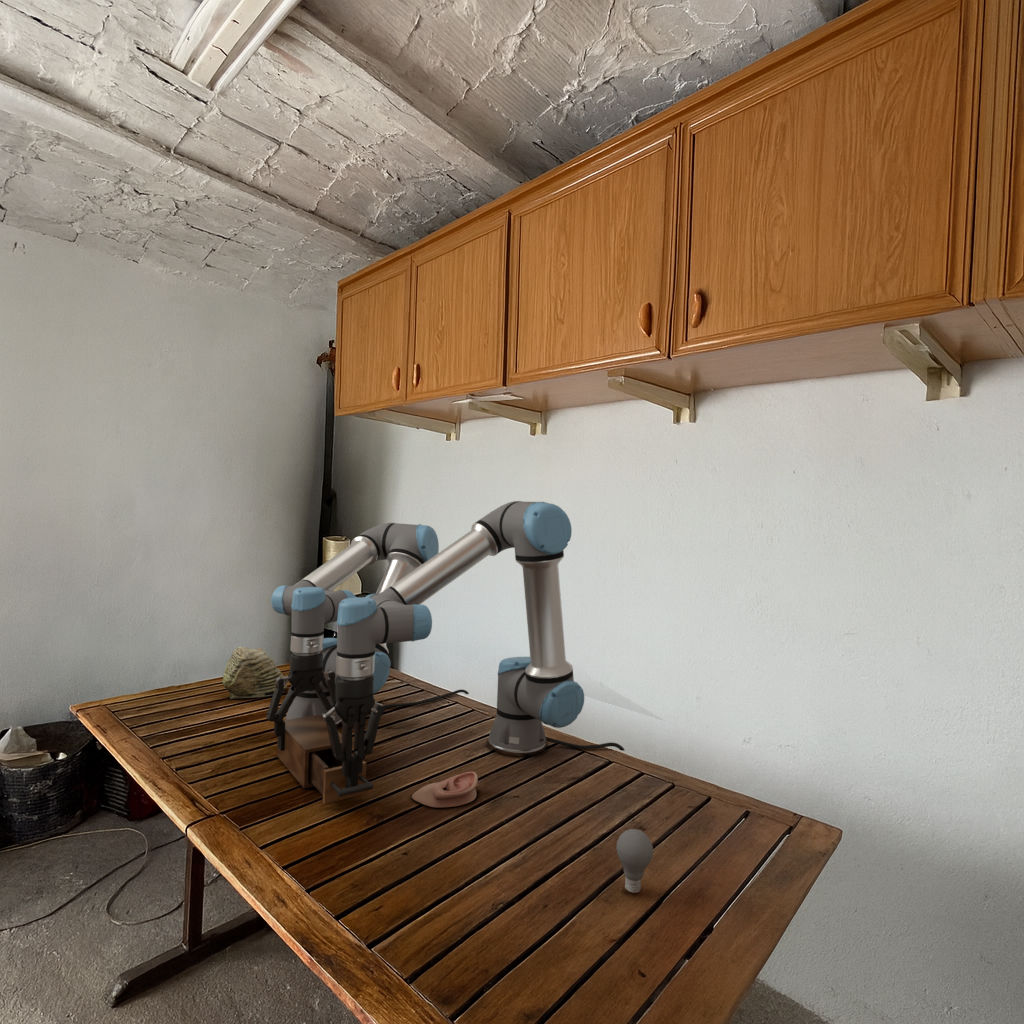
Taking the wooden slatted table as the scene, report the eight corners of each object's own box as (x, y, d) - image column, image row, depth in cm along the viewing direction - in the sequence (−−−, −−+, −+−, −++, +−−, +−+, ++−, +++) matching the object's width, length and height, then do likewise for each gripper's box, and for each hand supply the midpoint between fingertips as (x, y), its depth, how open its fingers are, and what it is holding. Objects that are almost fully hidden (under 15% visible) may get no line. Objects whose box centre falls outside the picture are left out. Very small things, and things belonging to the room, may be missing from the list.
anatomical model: (407, 784, 132) (425, 763, 143) (406, 803, 132) (424, 780, 143) (468, 793, 129) (482, 770, 140) (467, 812, 129) (481, 788, 141)
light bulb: (610, 879, 108) (613, 822, 108) (644, 879, 109) (647, 822, 109) (619, 902, 102) (622, 840, 102) (655, 901, 103) (658, 840, 103)
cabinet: (348, 778, 143) (349, 741, 142) (304, 788, 137) (305, 749, 137) (317, 748, 159) (318, 714, 159) (276, 756, 153) (278, 721, 153)
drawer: (376, 804, 129) (377, 772, 129) (334, 816, 124) (335, 782, 124) (332, 761, 149) (333, 733, 149) (294, 769, 144) (295, 740, 144)
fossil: (218, 695, 195) (220, 647, 195) (278, 685, 208) (279, 640, 207) (228, 703, 189) (230, 653, 188) (289, 692, 201) (290, 645, 201)
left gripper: (262, 661, 143) (258, 759, 143) (357, 650, 156) (354, 740, 156) (253, 653, 149) (250, 748, 149) (346, 644, 162) (343, 730, 162)
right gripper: (330, 684, 121) (326, 806, 122) (392, 675, 129) (389, 790, 129) (316, 674, 127) (313, 790, 128) (377, 666, 135) (374, 775, 135)
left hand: (303, 744), depth 153 cm, fingers closed on cabinet, 10 cm apart
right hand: (351, 790), depth 128 cm, fingers closed
